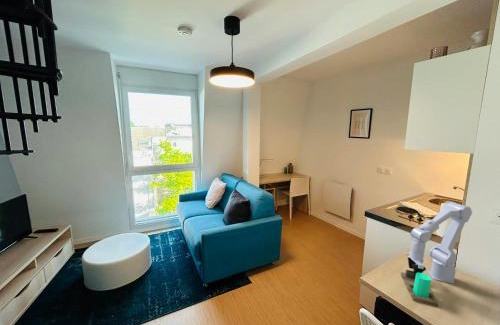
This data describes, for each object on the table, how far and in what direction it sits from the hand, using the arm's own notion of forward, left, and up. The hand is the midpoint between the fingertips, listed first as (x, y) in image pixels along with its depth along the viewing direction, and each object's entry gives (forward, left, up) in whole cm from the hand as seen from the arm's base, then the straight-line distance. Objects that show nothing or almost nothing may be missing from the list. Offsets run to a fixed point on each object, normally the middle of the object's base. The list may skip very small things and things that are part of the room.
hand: (413, 272), depth 116 cm
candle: (0, +11, -5) cm, 12 cm away
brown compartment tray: (0, +7, -5) cm, 8 cm away
